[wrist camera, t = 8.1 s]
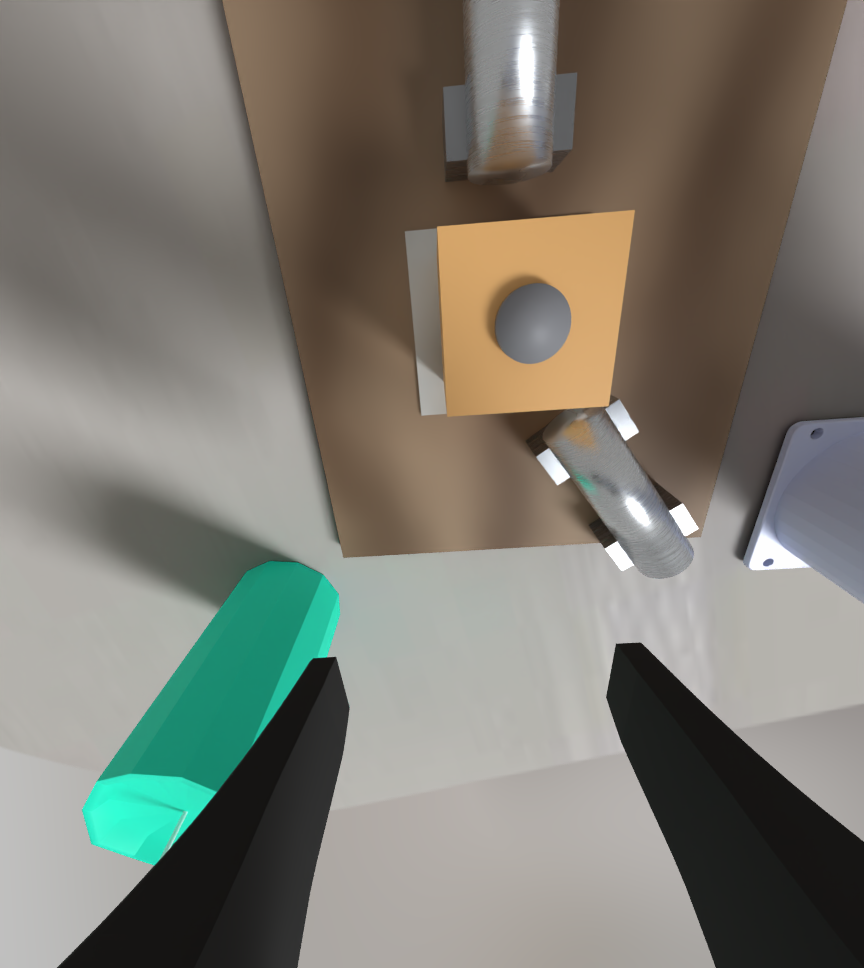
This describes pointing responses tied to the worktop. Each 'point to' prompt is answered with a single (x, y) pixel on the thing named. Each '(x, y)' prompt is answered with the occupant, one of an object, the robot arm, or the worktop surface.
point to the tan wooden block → (531, 311)
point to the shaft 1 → (508, 95)
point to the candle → (212, 709)
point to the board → (566, 191)
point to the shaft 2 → (617, 489)
